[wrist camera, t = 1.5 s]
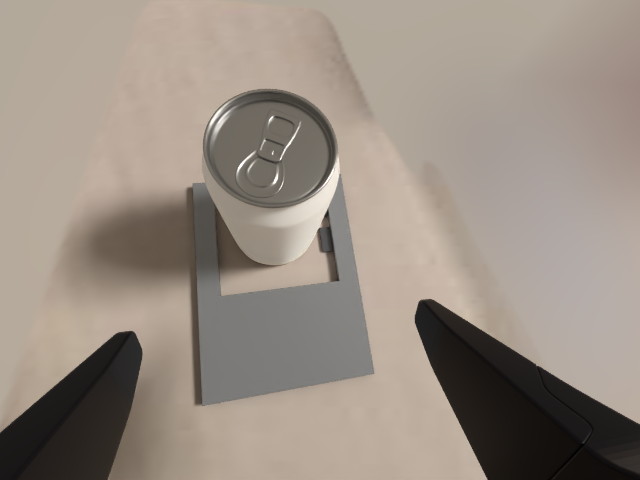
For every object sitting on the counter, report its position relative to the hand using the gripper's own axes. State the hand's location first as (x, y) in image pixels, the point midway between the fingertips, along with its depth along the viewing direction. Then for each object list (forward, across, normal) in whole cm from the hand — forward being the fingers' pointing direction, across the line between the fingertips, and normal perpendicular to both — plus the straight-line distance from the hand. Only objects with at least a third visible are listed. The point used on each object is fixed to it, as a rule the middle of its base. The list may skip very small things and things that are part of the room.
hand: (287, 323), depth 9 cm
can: (+15, 0, +4) cm, 15 cm away
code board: (+12, 0, +7) cm, 14 cm away
